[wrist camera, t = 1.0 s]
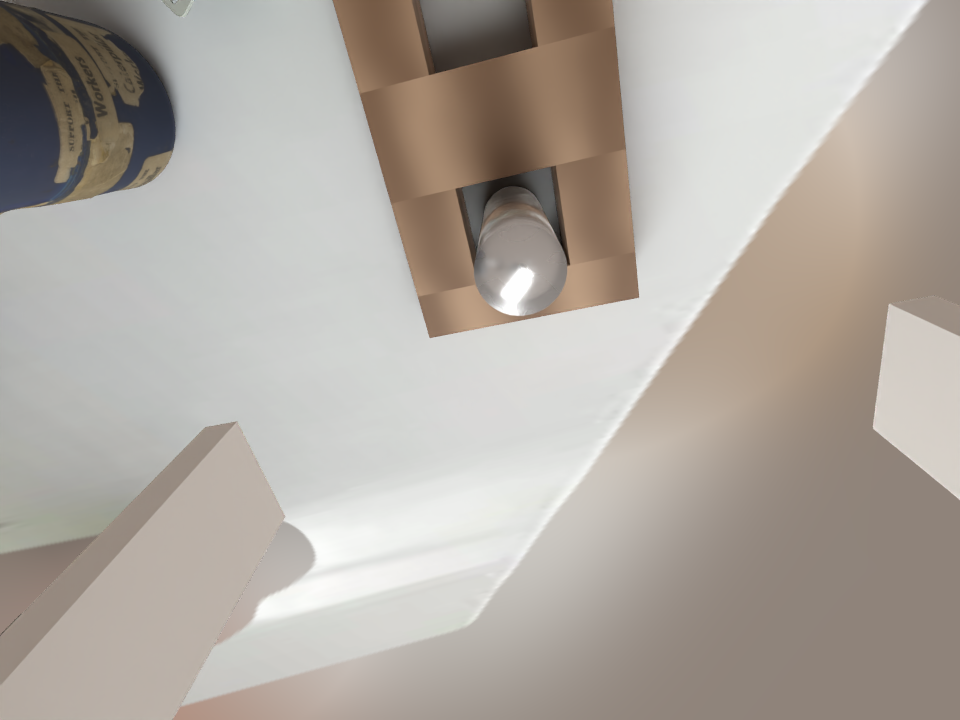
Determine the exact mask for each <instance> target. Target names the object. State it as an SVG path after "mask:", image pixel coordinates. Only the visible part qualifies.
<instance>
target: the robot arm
mask: <svg viewBox="0 0 960 720" xmlns="http://www.w3.org/2000/svg"><path fill="white" fill-rule="evenodd" d="M873 429H874V430H876V431H877V432H878V433H879V434H880V435H882V436H883V437H884V438H885V439H887V440H888V441H889V442H890V443H891V444H893V445H894V446H895V447H896V448H898V449H899V450H900V451H901V452H902V453H904V454H905V455H906V456H907V457H909V458H910V459H911V460H912V461H913V462H914V463H916V464H917V465H918V466H919V467H921V468H922V469H923V470H924V471H926V472H927V473H928V474H929V475H930V476H932V477H933V478H934V479H935V480H936V481H938V482H939V483H940V484H941V485H943V486H944V487H945V488H946V489H948V490H949V491H950V492H951V493H952V494H954V495H955V496H956V497H957V498H958V499H960V305H958V304H955V303H953V302H950V301H947V300H945V299H942V298H940V297H937V296H929V297H924V298H918V299H913V300H907V301H901V302H896V303H890V304H889V307H888V315H887V322H886V330H885V338H884V346H883V353H882V361H881V369H880V377H879V385H878V392H877V399H876V407H875V415H874V423H873ZM284 518H285V515H284V513H283V511H282V509H281V507H280V505H279V503H278V501H277V499H276V497H275V495H274V493H273V491H272V489H271V487H270V485H269V483H268V481H267V480H266V478H265V476H264V474H263V472H262V470H261V468H260V466H259V464H258V462H257V460H256V458H255V456H254V454H253V452H252V450H251V448H250V446H249V444H248V442H247V440H246V438H245V436H244V434H243V432H242V430H241V428H240V426H239V424H238V422H231V423H226V424H220V425H215V426H209V427H205V428H204V429H203V430H202V431H201V432H200V433H199V434H198V435H197V436H196V437H195V438H194V439H193V440H192V441H191V442H190V443H189V444H188V445H187V446H186V447H185V448H184V449H183V451H182V452H181V453H180V454H179V455H178V456H177V457H176V458H175V459H174V460H173V461H172V462H171V463H170V464H169V465H168V466H167V467H166V468H165V469H164V470H163V471H162V472H161V473H160V474H159V475H158V476H157V477H156V478H155V479H154V480H153V481H152V482H151V483H150V484H149V485H148V486H147V487H146V488H145V489H144V490H143V491H142V492H141V493H140V494H139V495H138V496H137V497H136V498H135V499H134V500H133V501H132V502H131V503H130V504H129V505H128V506H127V507H126V508H125V509H124V510H123V511H122V513H121V514H120V515H119V516H118V517H117V518H116V519H115V520H114V521H113V522H112V523H111V524H110V525H109V526H108V527H107V528H106V529H105V530H104V531H103V532H102V533H101V534H100V535H99V536H98V537H97V538H96V539H95V540H94V541H93V542H92V543H91V544H90V545H89V546H88V547H87V548H86V549H85V550H84V551H83V552H82V553H81V554H80V555H79V556H78V557H77V558H76V559H75V560H74V561H73V562H72V563H71V564H70V565H69V566H68V567H67V568H66V570H65V571H64V572H62V574H61V575H60V576H59V577H58V578H57V579H56V580H55V581H54V582H53V583H52V584H51V585H50V586H49V587H48V588H47V589H46V590H45V591H44V592H43V593H42V594H41V595H40V596H39V597H38V598H37V599H36V600H35V601H34V602H33V603H32V604H31V605H30V606H29V607H28V608H27V609H26V610H25V611H24V612H23V613H22V614H21V615H19V616H18V618H17V619H16V620H14V622H13V623H12V624H11V625H10V626H9V627H8V628H7V629H6V630H5V631H4V632H3V633H2V634H1V635H0V720H173V718H174V716H175V715H176V713H177V711H178V709H179V707H180V706H181V704H182V702H183V700H184V698H185V697H186V695H187V693H188V691H189V689H190V688H191V686H192V684H193V682H194V680H195V679H196V677H197V675H198V673H199V671H200V670H201V668H202V666H203V664H204V662H205V661H206V659H207V657H208V655H209V653H210V652H211V650H212V648H213V646H214V644H215V642H216V641H217V639H218V637H219V635H220V634H221V632H222V630H223V628H224V626H225V625H226V623H227V621H228V619H229V617H230V616H231V614H232V612H233V610H234V608H235V606H236V605H237V603H238V601H239V599H240V597H241V596H242V594H243V592H244V590H245V588H246V587H247V584H248V583H249V581H250V579H251V578H252V576H253V574H254V572H255V570H256V569H257V567H258V565H259V563H260V562H261V559H262V558H263V556H264V554H265V553H266V550H267V549H268V547H269V545H270V543H271V542H272V540H273V538H274V536H275V534H276V533H277V531H278V529H279V527H280V525H281V524H282V522H283V520H284Z"/></svg>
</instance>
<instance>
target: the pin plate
mask: <svg viewBox="0 0 960 720" xmlns="http://www.w3.org/2000/svg"><path fill="white" fill-rule="evenodd" d="M333 3H334V7H335V10H336V14H337V17H338V21H339V24H340V27H341V31H342V34H343V38H344V41H345V45H346V48H347V52H348V55H349V59H350V62H351V66H352V69H353V73H354V76H355V80H356V83H357V87H358V90H359V94H360V97H361V101H362V104H363V107H364V111H365V114H366V118H367V121H368V125H369V128H370V132H371V135H372V139H373V142H374V146H375V149H376V153H377V156H378V160H379V163H380V167H381V170H382V174H383V177H384V181H385V184H386V187H387V191H388V194H389V198H390V201H391V205H392V208H393V212H394V215H395V219H396V222H397V226H398V229H399V233H400V236H401V240H402V243H403V247H404V250H405V254H406V257H407V261H408V264H409V267H410V271H411V274H412V278H413V281H414V285H415V288H416V292H417V295H418V299H419V302H420V306H421V309H422V313H423V316H424V320H425V323H426V327H427V330H428V334H429V337H430V338H432V337H438V336H443V335H448V334H453V333H458V332H463V331H469V330H474V329H479V328H484V327H489V326H494V325H499V324H505V323H510V322H515V321H520V320H525V319H530V318H536V317H541V316H546V315H551V314H556V313H561V312H567V311H572V310H577V309H582V308H587V307H592V306H598V305H603V304H608V303H613V302H618V301H623V300H629V299H634V298H639V291H638V280H637V269H636V258H635V247H634V236H633V224H632V213H631V202H630V191H629V180H628V169H627V158H626V147H625V136H624V125H623V114H622V103H621V92H620V81H619V70H618V59H617V48H616V37H615V26H614V15H613V3H612V0H525V3H526V9H527V16H528V22H529V29H530V36H531V42H532V48H531V49H527V50H523V51H519V52H515V53H512V54H508V55H504V56H500V57H497V58H493V59H489V60H485V61H481V62H478V63H474V64H470V65H466V66H462V67H459V68H455V69H451V70H447V71H444V72H440V73H435V68H434V64H433V59H432V55H431V51H430V46H429V42H428V37H427V33H426V28H425V24H424V20H423V15H422V11H421V6H420V2H419V0H333ZM547 167H551V174H552V180H553V187H554V194H555V200H556V207H557V213H558V220H559V227H560V233H561V240H562V246H563V251H564V254H565V256H566V261H567V277H566V281H565V285H564V287H563V289H562V291H561V293H560V294H559V296H558V297H557V298H556V300H555V301H554V302H553V303H551V304H550V305H549V306H548V307H546V308H545V309H543V310H541V311H539V312H537V313H534V314H530V315H524V316H515V315H509V314H505V313H502V312H500V311H498V310H496V309H494V308H493V307H492V306H490V305H489V304H488V303H487V302H486V301H485V300H484V299H483V297H482V296H481V294H480V293H479V291H478V289H477V286H476V283H475V278H474V263H475V258H476V249H475V245H474V240H473V236H472V231H471V227H470V223H469V218H468V214H467V209H466V205H465V201H464V196H463V192H462V187H465V186H469V185H473V184H478V183H482V182H486V181H490V180H495V179H499V178H503V177H508V176H512V175H516V174H521V173H525V172H529V171H534V170H538V169H542V168H547Z"/></svg>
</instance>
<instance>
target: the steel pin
mask: <svg viewBox="0 0 960 720" xmlns="http://www.w3.org/2000/svg"><path fill="white" fill-rule="evenodd" d="M566 277H567V261H566V256H565V254H564V251H563V249H562V247H561V245H560V243H559V241H558V239H557V237H556V235H555V233H554V231H553V229H552V227H551V225H550V223H549V221H548V219H547V217H546V215H545V213H544V211H543V209H542V207H541V205H540V203H539V201H538V199H537V198H536V196H535V195H534V194H533V193H531V192H530V191H529V190H527V189H525V188H522V187H517V186H510V187H505V188H503V189H500V190H499V191H497V192H496V193H495V194H493V195H492V197H491V198H490V199H489V200H488V202H487V204H486V207H485V211H484V216H483V221H482V226H481V232H480V237H479V242H478V247H477V253H476V258H475V263H474V278H475V283H476V286H477V289H478V291H479V293H480V294H481V296H482V297H483V299H484V300H485V301H486V302H487V303H488V304H489V305H490V306H492V307H493V308H494V309H496V310H498V311H500V312H502V313H505V314H509V315H515V316H524V315H530V314H534V313H537V312H539V311H541V310H543V309H545V308H546V307H548V306H549V305H550V304H551V303H553V302H554V301H555V300H556V298H557V297H558V296H559V294H560V293H561V291H562V289H563V287H564V285H565V281H566Z"/></svg>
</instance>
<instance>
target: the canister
mask: <svg viewBox="0 0 960 720" xmlns="http://www.w3.org/2000/svg"><path fill="white" fill-rule="evenodd" d="M174 142H175V121H174V115H173V111H172V107H171V103H170V101H169V98H168V95H167V93H166V91H165V88H164V86H163V84H162V83H161V81H160V79H159V77H158V76H157V74H156V73H155V71H154V70H153V68H152V67H151V66H150V65H149V63H148V62H147V61H146V60H145V59H144V58H143V56H142V55H141V54H140V53H139V52H138V51H137V50H136V49H134V48H133V47H132V46H131V45H130V44H128V43H127V42H126V41H124V40H123V39H122V38H120V37H119V36H117V35H116V34H114V33H112V32H110V31H108V30H106V29H104V28H102V27H100V26H97V25H95V24H92V23H89V22H85V21H82V20H78V19H74V18H69V17H65V16H61V15H57V14H53V13H49V12H45V11H41V10H39V9H36V8H31V7H25V6H21V5H17V4H13V3H9V2H4V1H0V214H2V213H4V212H7V211H9V210H15V209H21V208H31V207H41V206H47V205H54V204H60V203H65V202H71V201H76V200H82V199H88V198H92V197H94V196H96V195H101V194H105V193H109V192H114V191H119V190H126V189H131V188H136V187H140V186H142V185H145V184H147V183H148V182H150V181H152V180H153V179H155V178H156V177H157V176H158V175H159V174H160V173H161V172H162V171H163V170H164V168H165V167H166V165H167V164H168V162H169V160H170V158H171V155H172V152H173V148H174Z"/></svg>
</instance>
